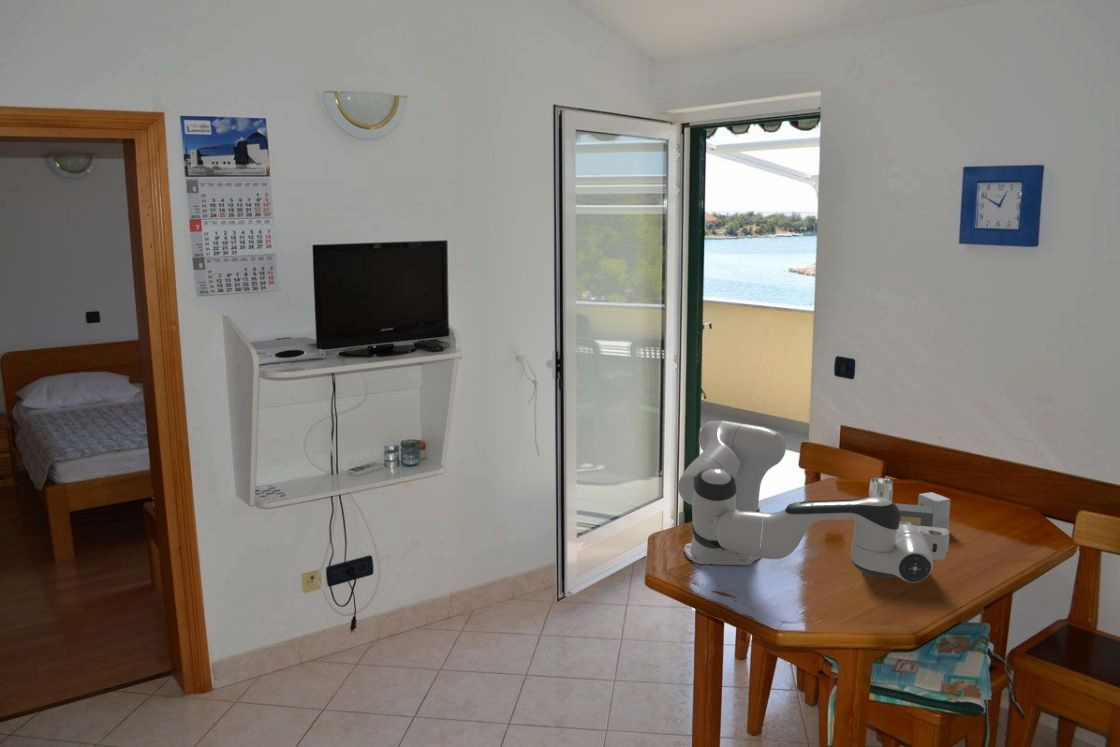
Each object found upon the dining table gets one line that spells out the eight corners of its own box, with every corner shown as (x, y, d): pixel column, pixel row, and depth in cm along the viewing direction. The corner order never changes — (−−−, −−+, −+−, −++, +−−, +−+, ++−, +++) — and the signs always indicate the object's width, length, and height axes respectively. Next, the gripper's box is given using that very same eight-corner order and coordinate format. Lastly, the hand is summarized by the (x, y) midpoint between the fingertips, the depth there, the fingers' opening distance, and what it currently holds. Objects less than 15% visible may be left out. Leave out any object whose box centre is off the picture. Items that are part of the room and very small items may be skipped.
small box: (948, 531, 279) (951, 499, 277) (934, 533, 277) (937, 501, 275) (929, 522, 287) (932, 491, 285) (915, 525, 285) (918, 493, 283)
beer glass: (891, 530, 280) (894, 484, 277) (868, 529, 281) (871, 483, 278) (888, 523, 286) (891, 478, 284) (865, 521, 288) (868, 476, 285)
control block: (928, 576, 245) (933, 514, 242) (859, 568, 250) (863, 507, 247) (925, 567, 251) (930, 506, 248) (858, 560, 256) (862, 500, 253)
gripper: (863, 551, 222) (860, 531, 235) (951, 560, 216) (944, 539, 229) (864, 526, 221) (862, 508, 234) (954, 535, 215) (946, 516, 228)
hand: (903, 524), depth 231 cm, fingers closed
